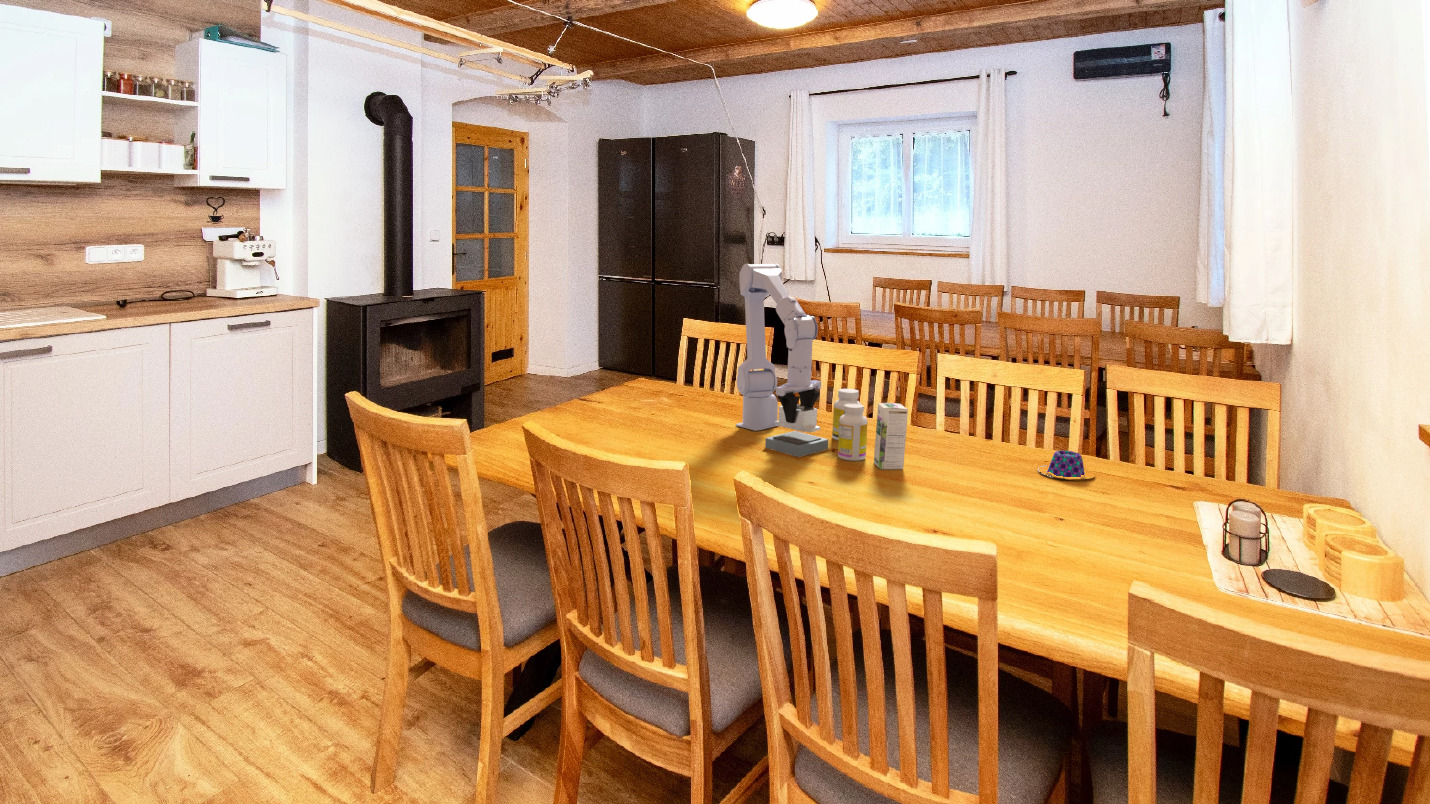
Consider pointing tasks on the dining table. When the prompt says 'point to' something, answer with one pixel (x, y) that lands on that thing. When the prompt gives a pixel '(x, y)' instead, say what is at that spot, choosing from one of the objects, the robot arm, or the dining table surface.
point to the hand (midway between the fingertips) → (797, 420)
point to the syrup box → (890, 436)
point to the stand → (796, 443)
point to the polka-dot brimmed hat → (1066, 464)
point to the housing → (800, 419)
